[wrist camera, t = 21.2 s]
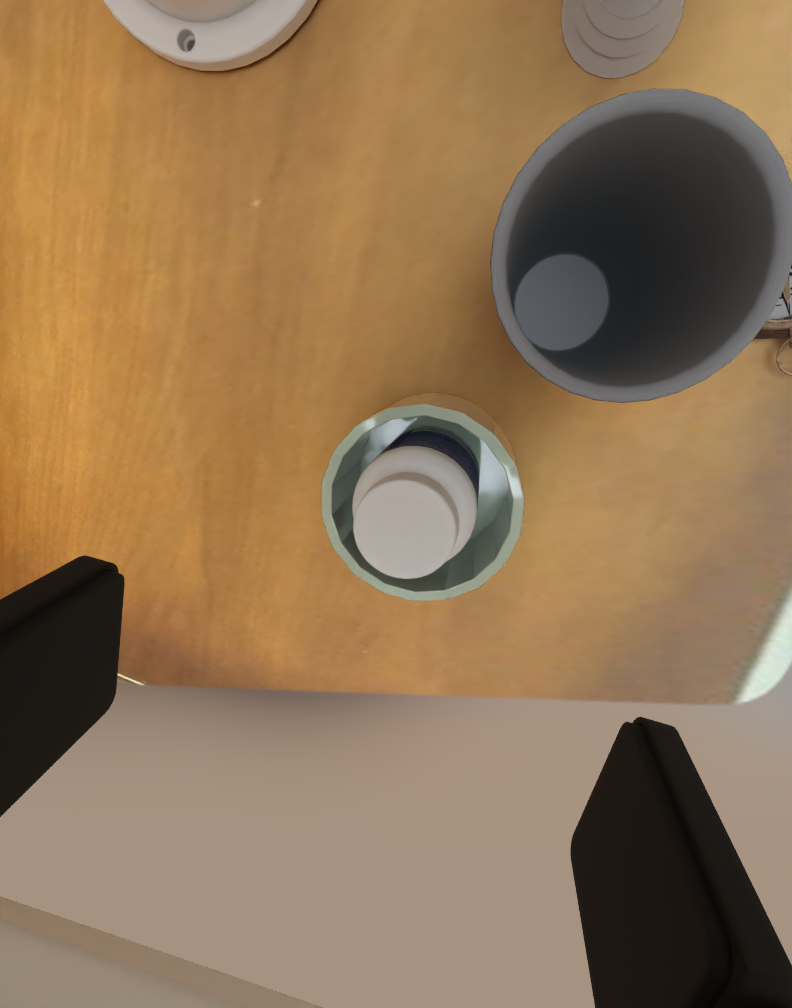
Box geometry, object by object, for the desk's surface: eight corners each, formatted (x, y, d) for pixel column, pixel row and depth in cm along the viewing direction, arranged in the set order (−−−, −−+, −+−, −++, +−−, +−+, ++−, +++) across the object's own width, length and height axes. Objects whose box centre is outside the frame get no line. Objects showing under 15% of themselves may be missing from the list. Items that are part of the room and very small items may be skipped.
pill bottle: (390, 415, 29) (344, 447, 20) (489, 435, 29) (489, 477, 20) (374, 510, 31) (325, 580, 22) (468, 530, 31) (459, 610, 21)
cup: (501, 386, 29) (512, 425, 14) (479, 248, 27) (468, 137, 13) (639, 359, 27) (802, 373, 13) (625, 211, 26) (794, 43, 11)
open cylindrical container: (371, 375, 30) (339, 383, 23) (538, 415, 29) (551, 434, 23) (340, 528, 32) (305, 571, 26) (492, 569, 32) (493, 623, 25)
